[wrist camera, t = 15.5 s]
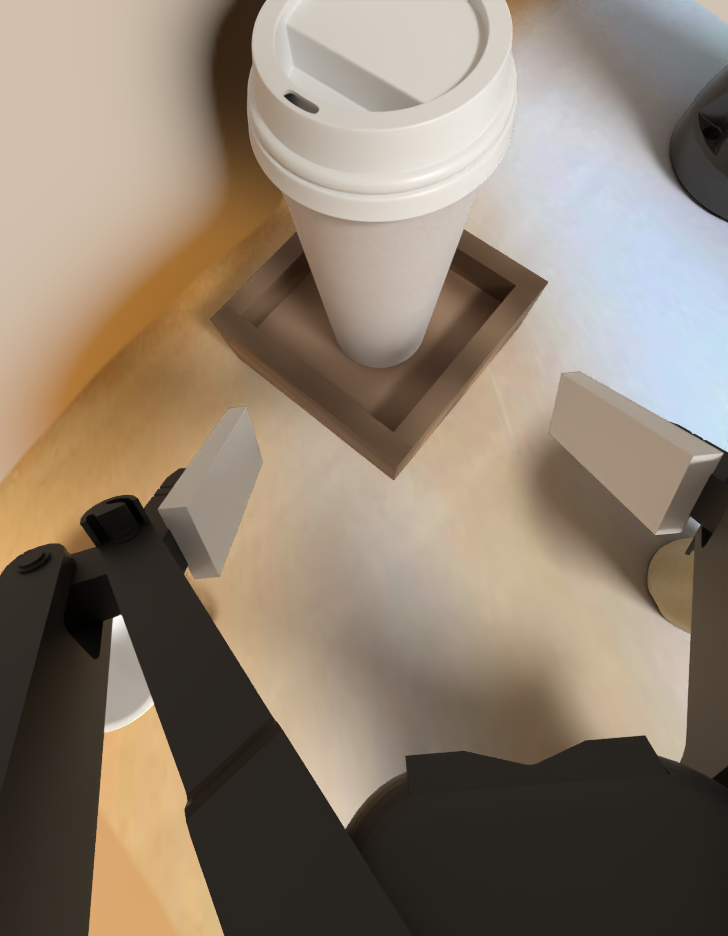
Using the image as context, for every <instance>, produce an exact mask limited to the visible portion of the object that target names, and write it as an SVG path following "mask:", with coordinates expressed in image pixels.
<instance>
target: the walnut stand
mask: <svg viewBox="0 0 728 936" xmlns="http://www.w3.org/2000/svg"><path fill="white" fill-rule="evenodd" d="M547 283H548V281H546V280H544V279H543V278H541V277H540V276H538V275H536V274H535V273H533V272H532V271H530V270H528V269H527V268H525V267H524V266H522V265H520V264H519V263H517V262H516V261H514V260H512V259H511V258H509V257H508V256H506V255H504V254H503V253H501V252H499V251H498V250H496V249H495V248H493V247H491V246H490V245H488V244H487V243H485V242H483V241H482V240H480V239H479V238H477V237H475V236H474V235H472V234H471V233H469V232H467V231H466V230H463V232H462V235H461V238H460V240H459V243H458V246H457V248H456V251H455V254H454V257H453V259H452V262H451V265H450V267H449V270H448V273H447V275H446V278H445V281H444V284H443V286H442V289H441V292H440V294H439V297H438V300H437V303H436V305H435V308H434V311H433V313H432V316H431V319H430V322H429V324H428V327H427V330H426V333H425V335H424V338H423V340H422V343H421V345H420V346H419V348H418V349H417V351H416V352H415V353H414V354H413V355H412V356H411V357H410V358H408V359H407V360H405V361H404V362H402V363H400V364H397V365H395V366H391V367H386V368H372V367H367V366H364V365H361V364H358V363H356V362H355V361H353V360H351V359H350V358H349V357H348V356H347V355H346V354H345V353H344V352H343V351H342V350H341V348H340V346H339V345H338V343H337V340H336V337H335V335H334V332H333V329H332V326H331V324H330V321H329V318H328V315H327V313H326V310H325V307H324V304H323V302H322V299H321V296H320V294H319V291H318V288H317V285H316V283H315V280H314V277H313V274H312V272H311V269H310V266H309V264H308V261H307V258H306V255H305V253H304V250H303V247H302V245H301V242H300V239H299V236H298V234H297V232H296V233H295V234H294V235H293V236H292V237H291V238H290V239H289V240H288V241H287V242H286V243H285V244H284V245H283V246H282V247H281V248H280V249H279V250H278V251H277V252H276V253H275V254H274V255H273V256H272V257H271V258H270V259H269V260H268V261H267V262H266V263H265V264H264V265H263V266H262V267H261V268H260V269H259V270H258V271H257V272H256V273H255V274H254V275H253V276H252V277H251V278H250V279H249V280H248V281H247V282H246V283H245V284H244V285H243V286H242V288H241V289H240V290H239V291H238V292H237V293H236V294H235V295H234V296H233V297H232V298H231V299H230V300H229V301H228V302H227V303H226V304H225V305H224V306H223V307H222V308H221V309H220V310H219V311H218V312H217V313H216V314H215V315H214V316H213V317H212V318H211V319H210V320H211V321H212V323H213V324H214V325H215V327H216V328H217V329H218V331H219V332H220V333H221V335H222V336H223V337H224V339H225V340H226V341H227V343H228V344H229V345H230V347H231V348H232V349H233V351H234V352H235V353H236V355H237V356H238V357H239V358H240V359H241V360H242V361H244V362H245V363H246V364H248V365H249V366H250V367H251V368H253V369H254V370H255V371H256V372H258V373H259V374H260V375H261V376H263V377H264V378H265V379H266V380H268V381H269V382H270V383H271V384H273V385H274V386H275V387H277V388H278V389H279V390H280V391H282V392H283V393H284V394H285V395H287V396H288V397H289V398H290V399H292V400H293V401H294V402H295V403H297V404H298V405H299V406H301V407H302V408H303V409H304V410H306V411H307V412H308V413H309V414H311V415H312V416H313V417H314V418H316V419H317V420H318V421H319V422H321V423H322V424H323V425H324V426H326V427H327V428H328V429H330V430H331V431H332V432H333V433H335V434H336V435H337V436H338V437H340V438H341V439H342V440H343V441H345V442H346V443H347V444H348V445H350V446H351V447H352V448H353V449H355V450H356V451H357V452H359V453H360V454H361V455H362V456H364V457H365V458H366V459H367V460H369V461H370V462H371V463H372V464H374V465H375V466H376V467H377V468H379V469H380V470H381V471H383V472H384V473H385V474H386V475H388V476H389V477H390V478H391V479H393V480H394V479H395V478H396V477H397V476H398V475H399V473H400V472H401V471H402V470H403V468H404V467H405V466H406V465H407V464H408V462H409V461H410V460H411V459H412V457H413V456H414V455H415V454H416V453H417V451H418V450H419V449H420V448H421V446H422V445H423V444H424V443H425V442H426V440H427V439H428V438H429V437H430V435H431V434H432V433H433V432H434V430H435V429H436V428H437V427H438V426H439V424H440V423H441V422H442V421H443V419H444V418H445V417H446V416H447V415H448V413H449V412H450V411H451V410H452V408H453V407H454V406H455V405H456V404H457V402H458V401H459V400H460V399H461V397H462V396H463V395H464V394H465V393H466V391H467V390H468V389H469V388H470V386H471V385H472V384H473V383H474V381H475V380H476V379H477V378H478V377H479V375H480V374H481V373H482V372H483V370H484V369H485V368H486V367H487V366H488V364H489V363H490V362H491V361H492V359H493V358H494V357H495V356H496V355H497V353H498V352H499V351H500V350H501V348H502V347H503V346H504V345H505V343H506V342H507V341H508V340H509V339H510V337H511V336H512V335H513V334H514V332H515V331H516V330H517V329H518V328H519V326H520V325H521V323H522V322H523V320H524V319H525V317H526V315H527V314H528V312H529V311H530V309H531V308H532V306H533V305H534V303H535V302H536V300H537V299H538V297H539V296H540V294H541V292H542V291H543V289H544V288H545V286H546V285H547Z"/></svg>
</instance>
